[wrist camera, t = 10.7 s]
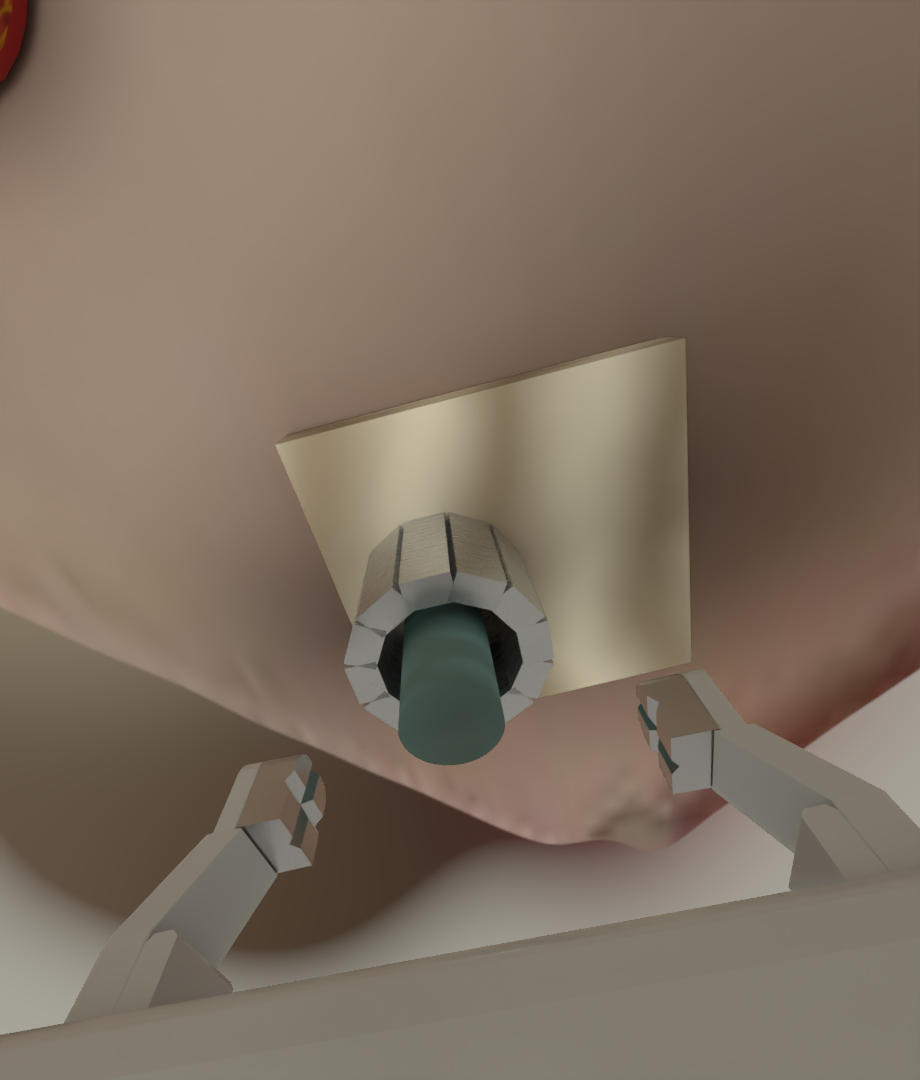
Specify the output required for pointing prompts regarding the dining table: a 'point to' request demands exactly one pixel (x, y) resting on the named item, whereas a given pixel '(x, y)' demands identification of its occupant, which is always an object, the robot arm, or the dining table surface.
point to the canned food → (11, 32)
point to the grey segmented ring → (438, 578)
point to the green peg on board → (521, 524)
